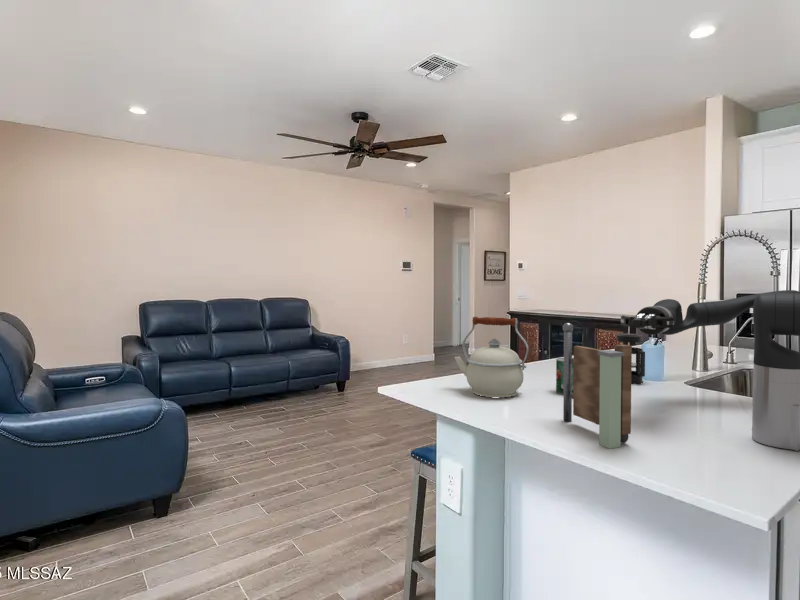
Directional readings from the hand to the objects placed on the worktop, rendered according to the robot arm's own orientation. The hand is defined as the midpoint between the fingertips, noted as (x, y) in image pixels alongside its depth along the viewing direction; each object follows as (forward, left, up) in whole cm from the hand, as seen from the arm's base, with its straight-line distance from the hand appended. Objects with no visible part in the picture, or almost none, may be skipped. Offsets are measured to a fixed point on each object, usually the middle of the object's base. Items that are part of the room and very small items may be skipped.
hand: (636, 323), depth 110 cm
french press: (+34, -46, -26) cm, 63 cm away
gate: (+2, +11, -26) cm, 28 cm away
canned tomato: (+33, -14, -26) cm, 45 cm away
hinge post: (+12, +10, -26) cm, 30 cm away
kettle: (+46, +8, -26) cm, 54 cm away
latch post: (-5, +16, -26) cm, 31 cm away
